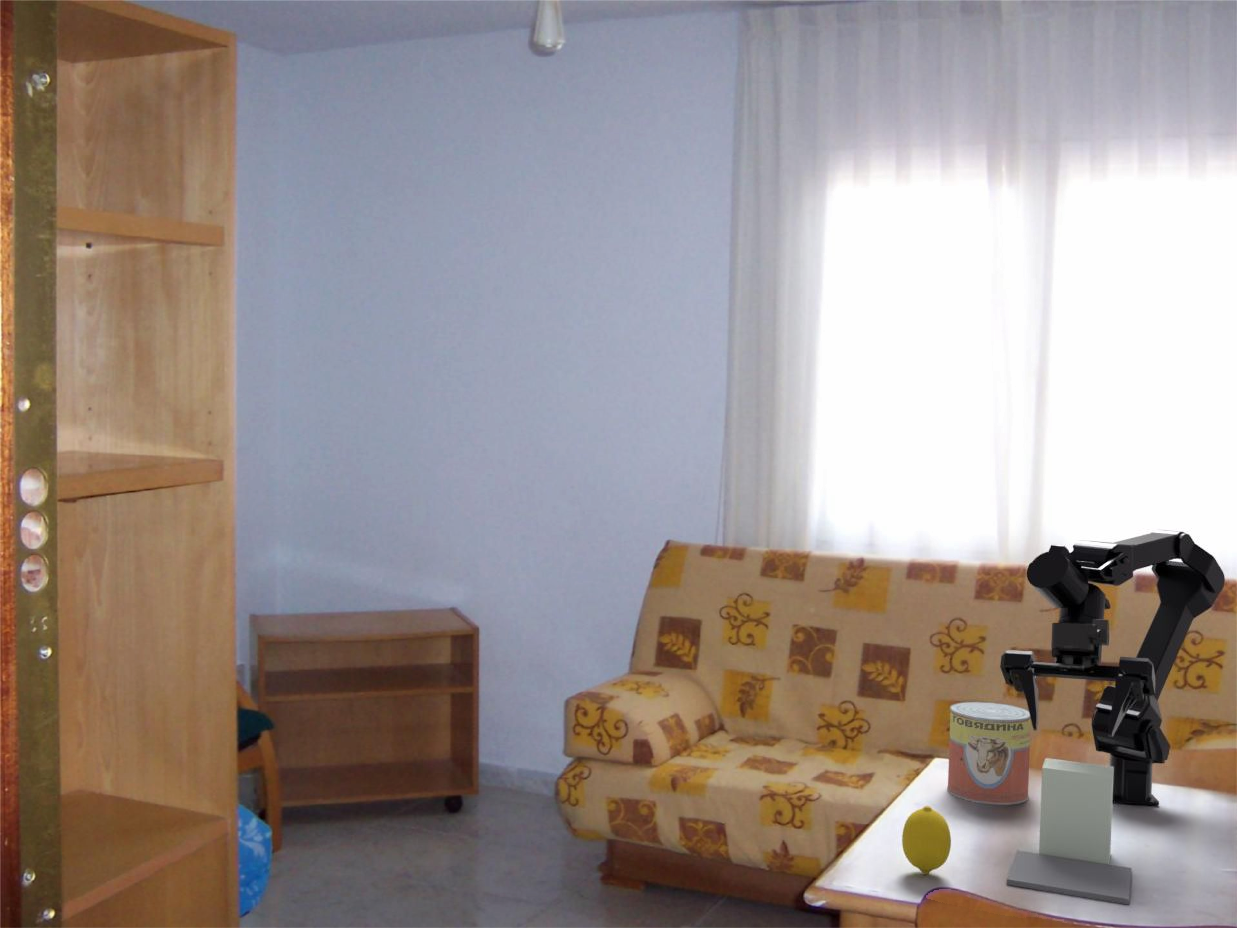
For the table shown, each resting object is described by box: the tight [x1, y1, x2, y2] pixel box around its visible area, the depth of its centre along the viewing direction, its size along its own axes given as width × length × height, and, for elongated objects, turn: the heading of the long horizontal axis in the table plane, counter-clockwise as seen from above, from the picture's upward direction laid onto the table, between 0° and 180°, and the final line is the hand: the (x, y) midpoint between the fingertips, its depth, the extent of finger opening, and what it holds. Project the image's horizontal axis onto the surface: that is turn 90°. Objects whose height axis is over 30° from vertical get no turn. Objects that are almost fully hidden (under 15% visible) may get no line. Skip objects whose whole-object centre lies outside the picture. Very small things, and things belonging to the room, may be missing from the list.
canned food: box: [946, 701, 1032, 806], centre depth 179 cm, size 11×11×12 cm
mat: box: [1006, 849, 1132, 905], centre depth 145 cm, size 11×13×1 cm
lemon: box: [901, 805, 952, 875], centre depth 145 cm, size 6×6×8 cm
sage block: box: [1038, 757, 1114, 864], centre depth 153 cm, size 5×8×11 cm, turn 66°
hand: (1072, 732), depth 159 cm, fingers open, 9 cm apart
